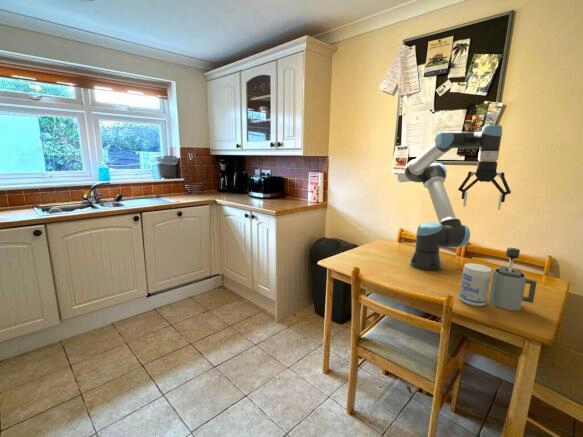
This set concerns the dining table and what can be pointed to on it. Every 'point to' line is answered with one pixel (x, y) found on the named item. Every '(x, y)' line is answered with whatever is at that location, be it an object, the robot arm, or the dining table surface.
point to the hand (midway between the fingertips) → (481, 207)
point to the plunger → (512, 256)
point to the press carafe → (510, 288)
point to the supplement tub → (475, 284)
